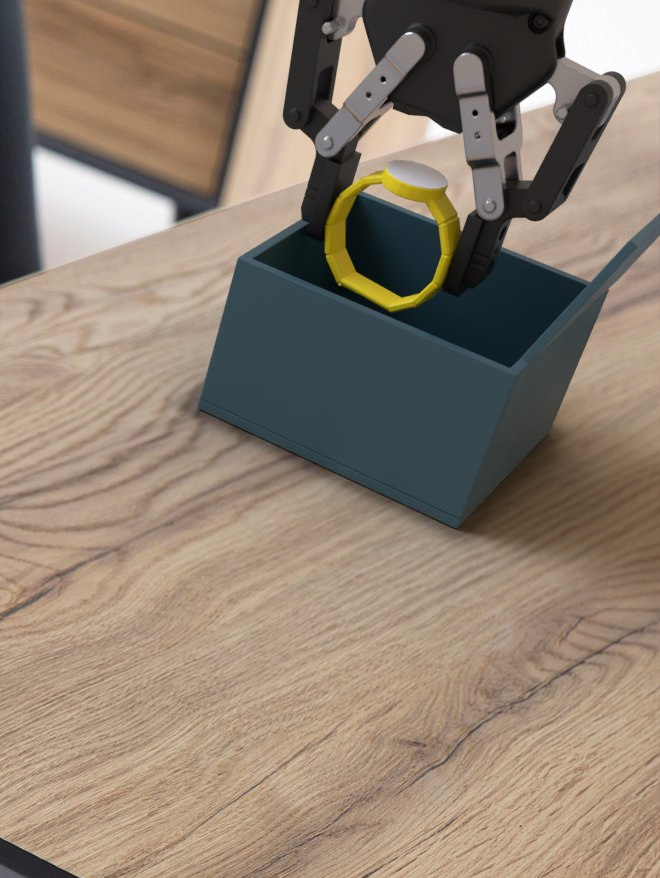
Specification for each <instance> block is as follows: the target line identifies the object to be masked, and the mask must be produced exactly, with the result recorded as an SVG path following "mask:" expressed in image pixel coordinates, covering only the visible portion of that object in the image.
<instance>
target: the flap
mask: <svg viewBox="0 0 660 878" xmlns="http://www.w3.org/2000/svg"><path fill="white" fill-rule="evenodd" d="M658 238H660V212H659V213H657V215H655V217H653V218H652V219H651V220H650V221H649V222H648V223H647V224H645V226H643V227H642V228H641V229H639V231H637V233H636V234H634V235H633V236H632V237H631V238H630V239H629V240H628V241H627V242H626V243H625V244H624V246H622V248H620V250H619V251H617V253H615V255H614V256H613V257H612V258H611V260H610V261H609V262H608V263H606V265H605V266H604V267H603V268H602V269H601V270H600V272H598V273H597V275H595V277H594V278H593V279H592V280H591V281H589V282H590V283H589V284H588V285H587V287H586V288H585V289H584V290H583V291H582V292H581V293H580V294H579V295H578V296H577V297H576V298H575V300H574V301H573V302H572V303H571V304H570V305H569V306H568V307H567V308H566V309H565V310H564V311H563V313H562V314H561V315H560V316H559V317H558V318H557V319H556V320H555V321H554V322H553V323H552V324H551V325H550V327H549V328H548V329H547V330H546V331H545V332H544V333H543V334H542V335H541V336H540V337H539V338H538V340H537V341H536V342H535V343H534V344H533V345H532V346H531V347H530V348H529V349H528V350H527V351H526V353H525V354H524V355H523V356H522V357H521V358H522V359H523V360H524V361H525V362H526V363H527V364H529V363H530V362H531V361H532V360H533V359H534V358H535V357H537V356H538V355H539V354H540V353H541V352H542V351H543V350H544V349H545V348H546V347H547V346H548V345H549V344H550V343H551V342H552V341H554V340H555V339H556V338H557V337H558V336H559V335H560V334H561V333H562V332H563V331H564V330H565V329H566V328H567V327H568V326H570V325H571V324H572V323H573V322H574V321H575V320H576V319H577V318H578V317H579V316H580V315H581V314H582V313H583V312H584V311H585V310H587V309H588V308H589V307H590V306H591V305H592V304H593V303H594V302H595V301H596V300H597V299H598V298H599V297H600V296H601V295H603V294H604V293H605V292H606V291H607V290H608V289H609V290H610V288H611V287H612V286H613V285H615V284H616V282H617V281H619V280H620V279H621V278H622V277H623V275H624V274H626V272H627V271H628V270H629V269H630V268H631V267H632V266H633V265H634V264H635V263H636V262H637V261H638V259H640V257H642V256H643V254H645V252H646V251H648V249H649V248H651V246H652V245H653V243H655V242H656V241H657V240H658Z"/></svg>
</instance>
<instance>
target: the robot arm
mask: <svg viewBox="0 0 660 878" xmlns="http://www.w3.org/2000/svg"><path fill="white" fill-rule="evenodd" d="M573 2H574V0H298V6H297V12H296V13H297V14H296V21H295V27H294V32H293V33H294V35H293V40H292V48H291V55H290V59H289V60H290V61H289V68H288V75H287V82H286V87H285V95H284V101H283V108H282V120H283V122H284V124H285V125H286V127H288V128H290V129H291V130H296V131H297V130H300V131H301V132H302V133H303V134H304V135H305V136H307V138H309V139H310V140H311V142H312V143H313V146H314V150H315V155H314V156H315V157H314V160H313V164H312V166H311V167H312V168H311V171H310V175H309V179H308V181H307V185H306V186H307V187H306V189H305V192H304V196H303V199H302V202H301V206H300V214H301V215H300V217H301V219H302V220H303V221H306V222H308V223H309V224H308V227H307V231H306V235H307V236H308V237H311V238H313V239H316V240H318V241H320V242H322V241H323V240H325V225H326V221H327V218H328V215H329V213H330V211H331V209H332V207H333V205H334V203H335V200H336V198H337V197H339V195H340V193H342V192H343V191H344V190H346V189H347V188H348V187H350V186H351V185H352V184H354V180H355V177H356V173H357V171H358V167H359V164H360V161H361V157H362V154H363V153H362V152H359V151H357V147H358V143H359V142H360V141H361V140H362V139H363V138H364V137H365V136H366V135H367V133H368V132H370V130H371V129H372V128H373V127H374V126H375V125H376V124H377V123H378V121H380V120H381V118H382V117H383V116H384V115H385V114H386V113H387V112H388V111H390V110H391V109H392V110H393V111H397V112H399V113H402V114H404V115H408V116H414V117H415V116H416V117H426V118H429V119H430V120H431V121H433V123H436V124H437V125H438V126H439V127H441V128H442V129H444V130H446V131H450V132H452V133H455V134H458V135H461V134H462V139H463V148H464V158H465V161H466V164H467V165H468V167H470V170H471V177H472V186H473V193H474V195H473V196H474V203H475V209H474V210H472V211H471V212H469V213H468V214H467V216H466V219H465V221H464V225H463V228H462V229H461V231H462V233H461V236H460V239H459V242H458V245H457V248H456V250H455V253H454V256H453V259H452V262H451V265H450V268H449V270H448V273H447V276H446V279H445V282H444V285H443V289H442V291H443V292H446V293H448V294H451V295H453V296H455V297H459V296H460V295H462V294H463V293H464V292H465V291H467V290H468V289H469V288H471V289H474V288H475V287H476V286H478V285H479V284H480V283H481V282H483V281H484V280H485V279H486V278H487V277H488V276H489V275H490V273H491V272H492V271H493V269H494V266H495V263H496V261H497V258H498V255H499V253H500V249H501V247H503V245H504V242H505V239H506V237H507V233H508V231H509V228H510V226H511V222H512V220H513V219H527V220H528V221H530V222H540V221H542V220H544V219H545V218H547V217H548V216H549V215H551V214H552V213H553V212H555V211H556V210H557V209H558V208H560V207H561V206H562V205H563V204H565V203H566V201H567V200H568V198H569V196H570V194H571V193H572V191H573V189H574V187H575V186H576V184H577V182H578V180H579V178H580V176H581V175H582V172H583V171H584V169H585V167H586V165H587V164H588V162H589V159H590V158H591V156H592V154H593V152H594V151H595V149H596V147H597V145H598V143H599V141H600V140H601V138H602V136H603V134H604V132H605V130H606V129H607V126H608V124H609V122H610V121H611V119H612V117H613V115H614V113H615V112H616V109H617V108H618V106H619V104H620V102H621V101H622V99H623V97H624V95H625V93H626V90H627V81H626V79H625V77H624V76H623V75H622V74H621V73H620V72H618V71H615V70H611V71H606V72H604V73H602V74H600V73H598V72H596V71H593V70H592V69H590V68H588V67H586V66H584V65H582V64H581V63H578V62H576V61H574V60H572V59H570V58H568V57H567V56H566V52H567V51H566V44H565V25H566V22H567V18H568V17H569V16H568V15H569V13H570V11H571V8H572V5H573ZM360 18H361V20H362V23H363V26H364V30H365V33H366V36H367V40H368V44H369V47H370V51H371V54H372V58H373V61H374V62H373V63H374V65H375V66H374V68H373V69H372V70H371V71H370V72H369V73H368V74H367V75H366V76H365V78H364V79H362V81H361V82H360V83H359V84H358V85H357V86H356V87H355V89H354V90H353V91H352V92H351V93H350V94H349V95H348V96H347V97H346V99H345V100H344V101H343V103H342V106H341V107H340V108H338V107H337V106H336V105H335V104H333V98H334V91H335V86H336V80H337V74H338V67H339V62H340V55H341V50H342V43H343V38H344V37H347V36H349V35H350V34H351V33H353V31H354V30H355V28H356V26H357V25H356V24H357V22H358V20H359V19H360ZM547 84H549V86H551V88H552V89H553V91H554V93H555V99H554V104H553V107H552V113H553V117H554V119H555V120H556V121H557V122H558V123H559V124H561V125H560V128H559V129H558V131H557V132H556V135H555V136H554V139H553V141H552V142H551V145H550V146H549V147H548V150H547V152H546V154H545V156H544V157H543V159H542V162H541V163H540V165H539V167H538V168H537V171H536V173H535V175H534V177H533V179H530V180H526V179H524V178H523V177H524V176H523V167H522V157H521V149H522V146H523V142H524V132H523V124H522V113H521V103H522V102H523V101H524V100H526V99H528V98H529V97H531V95H533V94H535V92H537V91H538V90H540V89H541V88H543V87H544V86H545V85H547Z"/></svg>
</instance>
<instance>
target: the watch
mask: <svg viewBox="0 0 660 878" xmlns="http://www.w3.org/2000/svg"><path fill="white" fill-rule="evenodd" d="M375 185H382V186H383V187H384V188H385V189H386V190H388V191H389V192H390V193H392V194H394V195H395V196H397V197H400V198H402V199H405V200H409V201H411V202H415V203H422V204H425V205H426V207H427V208H428V210H429V212H430V214H431V215H432V217H433V219H434V220H436V222H437V223H438V225H439V234H440V242H441V251H442V255H441V258H440V261H439V264H438V267H437V270H436V273H435V276H434V279H433V281H432V282H431V283H430V284H429V285H428V286H427V287H426V288H425V289H424V290H423V291H422V292H420V293H419V294H416V295H411V296H407V297H403V298H401V297H400V296H398V295H396V294H394V293H393V292H391V291H389V290H387V289H385V288H384V287H382V286H380V285H378V284H377V283H375V282H373V281H371V280H369V279H368V278H366V277H364V276H362V275H361V274H359V273H357V272H356V271H355V268H354V266H353V264H352V261H351V259H350V257H349V255H348V252H347V250H346V248H345V228H346V220H345V219H346V218H347V216H348V213H349V211H350V209H351V207H352V205H353V203H354V201H355V199H356V197H357V195H358V194H360V193H361V192H362V191H363V192H365V190H366V189H367V188H370V187H371V186H375ZM448 186H449V182H448V178H447V177H446V176H445V175H444V174H443V173H442V172H441V171H439V170H437V169H436V168H434V167H432V166H429V165H426V164H424V163H421V162H417V161H413V160H407V159H394V160H390V161H389V162H387V163H386V164H385V166H384V168H383V170H376V171H374V172H371V173H370V174H367V175H365V176H362V177H360V178H359V179H357V180H356V181H355V182H353V184H352V185H351V186H350V187H348V188H347V189H346V190H344V191H343V192H342V193H340V195H339V197H337V198H336V200H335V203H334V205H333V207H332V209H331V211H330V213H329V215H328V218H327V221H326V225H325V254H326V259H327V261H328V264H329V266H330V268H331V271H332V273H333V275H334V278H335V280H336V282H337V283H339V284H338V285H340V286H344V287H346V288H347V289H349V290H351V291H353V292H354V293H356V294H357V293H358V294H359V295H361V296H363V297H365V298H366V299H368V300H370V301H372V302H373V303H375V304H377V305H379V306H380V307H382V308H384V309H386V310H387V311H389V312H390V313H394V312H398V311H402V310H406V309H411V308H415V307H417V306H419V305H421V304H422V303H424V302H426V301H428V300H429V299H431V298H432V297H433V296H435V295H436V294H437V293H438V292H439V291H440V290H441V289H442V288H443V285H444V282H445V279H446V276H447V273H448V270H449V268H450V265H451V262H452V259H453V256H454V253H455V250H456V248H457V245H458V242H459V239H460V236H461V231H462V229H461V220H460V217H459V216H458V215H459V214H458V211H457V210H456V208H455V206H454V205H453V204H452V201H451V200H450V199H449V197H448V194H447V193H446V191H447V189H448Z"/></svg>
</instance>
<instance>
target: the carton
mask: <svg viewBox="0 0 660 878" xmlns="http://www.w3.org/2000/svg"><path fill="white" fill-rule="evenodd" d="M345 220H346V228H345V248H346V250H347V252H348V255H349V257H350V259H351V261H352V264H353V266H354V268H355V271H356V272H357V273H359V274H361V275H362V276H364V277H366V278H368V279H369V280H371V281H373V282H375V283H377V284H378V285H380V286H382V287H384V288H385V289H387V290H389V291H391V292H393V293H394V294H396V295H398V296H400V297H401V298H403V297H407V296H411V295H416V294H419V293H420V292H422V291H423V290H424V289H425V288H426V287H427V286H428V285H429V284H430V283H431V282H432V281H433V279H434V276H435V273H436V270H437V267H438V264H439V261H440V258H441V255H442V251H441V242H440V234H439V225H438V223H437V222H436V220H435V219H434V218H431V217H428V216H425V215H424V214H421V213H418V212H415V211H413V210H411V209H408V208H405V207H403V206H400V205H398V204H395V203H393V202H390V201H387V200H385V199H382V198H380V197H377V196H375V195H373V194H370V193H368V192H365V191H362V192H361V193H360V194H358V195H357V197H356V199H355V201H354V203H353V205H352V207H351V209H350V211H349V213H348V216H347V218H346V219H345ZM308 224H309V223H308V222H306V221H303V220H302V218H300V219H299V220H297V221H295V222H293V224H290V225H289V226H287V227H286V228H284V229H282V230H281V231H279V232H278V233H276V234H274V235H273V236H271V237H269V238H268V239H266V240H264V241H263V242H261V243H260V244H258V245H256V246H254V247H253V248H251V249H249V250H248V251H246V252H244V253H243V254H241V255H240V256H238V257H237V259H236V263H235V266H234V271H233V274H232V278H231V282H230V284H229V285H230V286H229V289H228V293H227V296H226V300H225V303H224V308H223V311H222V315H221V318H220V322H219V325H218V330H217V333H216V338H215V341H214V345H213V349H212V353H211V356H210V359H209V363H208V367H207V372H206V375H205V378H204V381H203V384H202V389H201V393H200V397H199V401H198V404H197V405H198V406H197V409H198V410H201V411H203V412H205V413H207V414H208V415H212V416H213V417H215V418H218V419H220V420H222V421H224V422H226V423H228V424H231V425H233V426H235V427H237V428H239V429H241V430H244V431H245V432H248V433H250V434H252V435H254V436H257V437H259V438H260V439H263V440H265V441H267V442H270V443H272V444H273V445H276V446H278V447H280V448H282V449H285V451H288V452H291V453H293V454H295V455H297V456H299V457H302V458H303V459H306V460H308V461H310V462H312V463H315V464H317V466H318V465H319V466H320V467H323V468H324V469H327V470H329V471H331V472H333V473H336V474H337V475H340V476H342V477H344V478H346V479H349V480H351V481H352V482H355V483H357V484H359V485H362V486H364V487H366V488H368V489H370V490H372V491H375V492H377V493H378V494H380V495H383V496H385V497H388V498H389V499H392V500H393V501H396V502H398V503H400V504H402V505H404V506H406V507H408V508H410V509H413V510H415V511H417V512H419V513H422V514H423V515H426V516H428V517H430V518H432V519H435V520H437V521H439V522H441V523H443V524H445V525H447V526H450V528H451V527H452V528H454V529H458V528H459V527H460V526H461V525H462V524H463V523H464V521H466V520H467V518H469V516H470V515H471V514H472V513H473V512H475V510H476V509H477V508H478V507H479V505H481V504H482V503H483V502H484V501H485V500H486V499H487V498H488V497H489V496H490V494H492V492H493V491H494V490H495V489H497V487H498V486H499V485H500V484H501V483H502V482H503V481H504V480H505V479H506V478H507V477H508V475H510V474H511V473H512V472H513V470H515V469H516V467H517V466H518V465H519V464H520V463H521V462H522V461H523V460H524V459H525V458H526V457H527V456H528V455H529V454H530V452H532V450H534V449H535V448H536V447H537V445H538V444H539V443H540V442H541V441H543V439H544V438H545V437H546V436H547V435H548V434H549V433H550V432H551V430H552V427H553V425H554V423H555V420H556V418H557V416H558V413H559V410H560V408H561V406H562V404H563V401H564V399H565V396H566V394H567V392H568V389H569V387H570V386H571V385H570V384H571V382H572V379H573V377H574V375H575V373H576V369H577V368H578V366H579V364H580V361H581V359H582V356H583V354H584V351H585V349H586V346H587V344H588V342H589V339H590V337H591V334H592V332H593V329H594V328H595V325H596V323H597V320H598V317H599V315H600V313H601V310H602V308H603V306H604V303H605V301H606V299H607V297H608V294H609V292H610V288H609V289H608V290H607V291H606V292H605V293H604V294H603V295H601V296H600V297H599V298H598V299H597V300H596V301H595V302H594V303H593V304H592V305H591V306H590V307H589V308H588V309H587V310H585V311H584V312H583V313H582V314H581V315H580V316H579V317H578V318H577V319H576V320H575V321H574V322H573V323H572V324H571V325H570V326H568V327H567V328H566V329H565V330H564V331H563V332H562V333H561V334H560V335H559V336H558V337H557V338H556V339H555V340H554V341H552V342H551V343H550V344H549V345H548V346H547V347H546V348H545V349H544V350H543V351H542V352H541V353H540V354H539V355H538V356H537V357H535V358H534V359H533V360H532V361H531V362H530V363H529V364H527V363H526V362H525V361H524V360H523V359H522V358H521V357H522V356H523V355H524V354H525V353H526V351H527V350H528V349H529V348H530V347H531V346H532V345H533V344H534V343H535V342H536V341H537V340H538V338H539V337H540V336H541V335H542V334H543V333H544V332H545V331H546V330H547V329H548V328H549V327H550V325H551V324H552V323H553V322H554V321H555V320H556V319H557V318H558V317H559V316H560V315H561V314H562V313H563V311H564V310H565V309H566V308H567V307H568V306H569V305H570V304H571V303H572V302H573V301H574V300H575V298H576V297H577V296H578V295H579V294H580V293H581V292H582V291H583V290H584V289H585V288H586V287H587V285H588V284H589V283H590V282H591V281H589V280H586V279H584V278H582V277H579V276H576V275H573V274H571V273H568V272H566V271H564V270H561V269H559V268H556V267H554V266H552V265H549V264H546V263H544V262H542V261H539V260H536V259H533V258H531V257H529V256H526V255H523V254H521V253H519V252H516V251H514V250H512V249H509V248H506V247H503V246H502V247H501V249H500V253H499V255H498V258H497V261H496V263H495V266H494V269H493V271H492V272H491V273H490V275H489V276H488V277H487V278H486V279H485V280H484V281H483V282H481V283H480V284H479V285H478V286H476V287H475V288H474V289H471V288H469V289H468V290H467V291H465V292H464V293H463V294H462V295H460V296H459V297H455V296H453V295H451V294H448V293H446V292H443V291H442V289H443V288H442V289H441V290H440V291H439V292H438V293H437V294H436V295H435V296H433V297H432V298H431V299H429V300H428V301H426V302H424V303H422V304H421V305H419V306H417V307H415V308H411V309H406V310H402V311H398V312H394V313H390V312H389V311H387V310H386V309H384V308H382V307H380V306H379V305H377V304H375V303H373V302H372V301H370V300H368V299H366V298H365V297H363V296H361V295H359V294H358V293H357V294H356V293H354V292H353V291H351V290H349V289H347V288H346V287H344V286H340V285H338V284H339V283H337V282H336V280H335V278H334V275H333V273H332V271H331V268H330V266H329V264H328V261H327V259H326V254H325V240H323V241H322V242H320V241H318V240H316V239H313V238H311V237H308V236H307V235H306V231H307V227H308ZM461 233H462V230H461Z"/></svg>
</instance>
